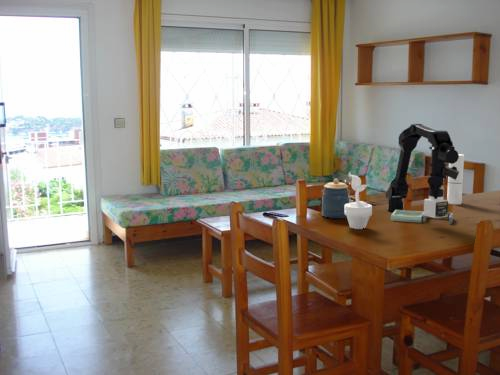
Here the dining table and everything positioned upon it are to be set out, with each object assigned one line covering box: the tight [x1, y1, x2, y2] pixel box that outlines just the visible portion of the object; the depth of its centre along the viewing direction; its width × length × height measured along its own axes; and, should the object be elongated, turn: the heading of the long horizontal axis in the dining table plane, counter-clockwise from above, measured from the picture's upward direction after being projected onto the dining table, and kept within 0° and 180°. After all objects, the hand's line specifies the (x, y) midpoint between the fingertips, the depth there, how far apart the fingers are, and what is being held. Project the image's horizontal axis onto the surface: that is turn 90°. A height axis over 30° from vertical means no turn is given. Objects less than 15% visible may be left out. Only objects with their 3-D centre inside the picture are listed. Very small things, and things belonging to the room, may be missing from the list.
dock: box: [422, 211, 454, 225], centre depth 265 cm, size 12×11×3 cm
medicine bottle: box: [423, 187, 449, 219], centre depth 252 cm, size 7×7×12 cm
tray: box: [390, 210, 424, 224], centre depth 269 cm, size 13×13×2 cm
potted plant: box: [344, 172, 373, 230], centre depth 250 cm, size 13×12×25 cm
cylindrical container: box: [446, 153, 465, 205], centre depth 303 cm, size 7×7×25 cm
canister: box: [321, 178, 351, 219], centre depth 275 cm, size 13×13×18 cm
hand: (436, 197), depth 252 cm, fingers closed on medicine bottle, 6 cm apart
